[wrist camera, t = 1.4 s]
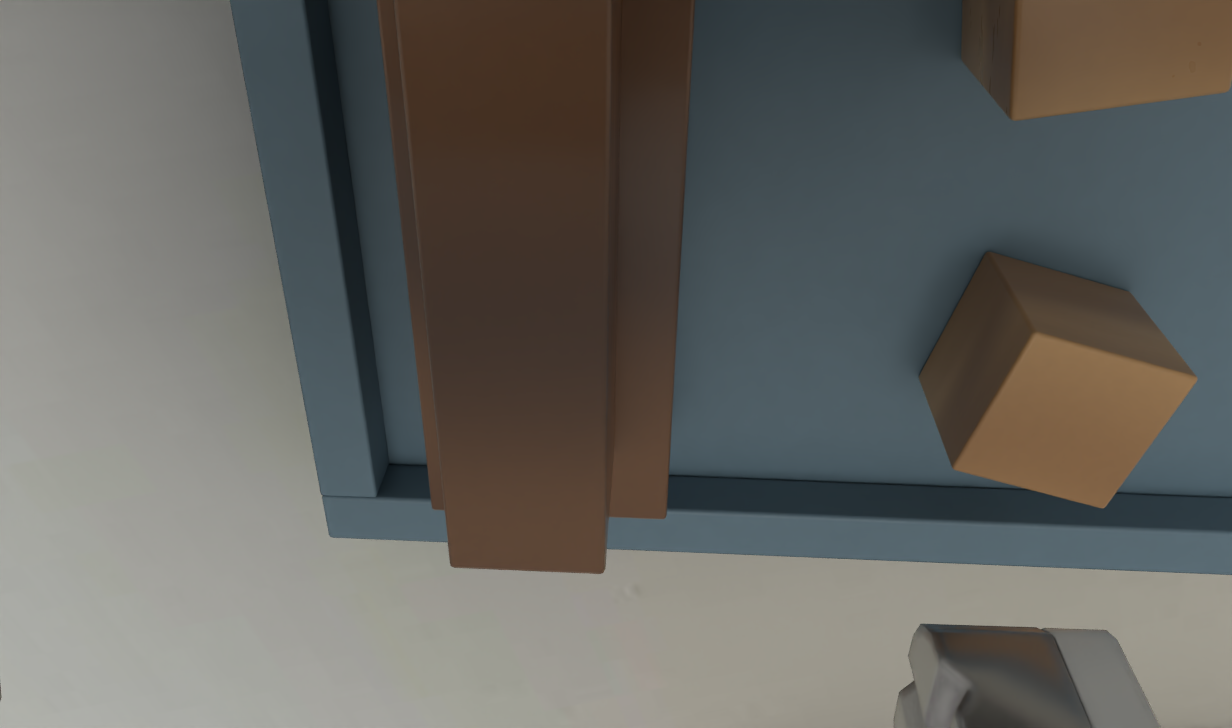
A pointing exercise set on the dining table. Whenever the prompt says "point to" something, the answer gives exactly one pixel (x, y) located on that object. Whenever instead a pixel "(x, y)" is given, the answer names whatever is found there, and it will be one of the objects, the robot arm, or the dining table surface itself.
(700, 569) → the dining table surface
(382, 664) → the dining table surface
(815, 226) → the tray
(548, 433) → the brush
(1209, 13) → the light brown wooden cube
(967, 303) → the brown wooden cube
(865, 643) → the dining table surface
